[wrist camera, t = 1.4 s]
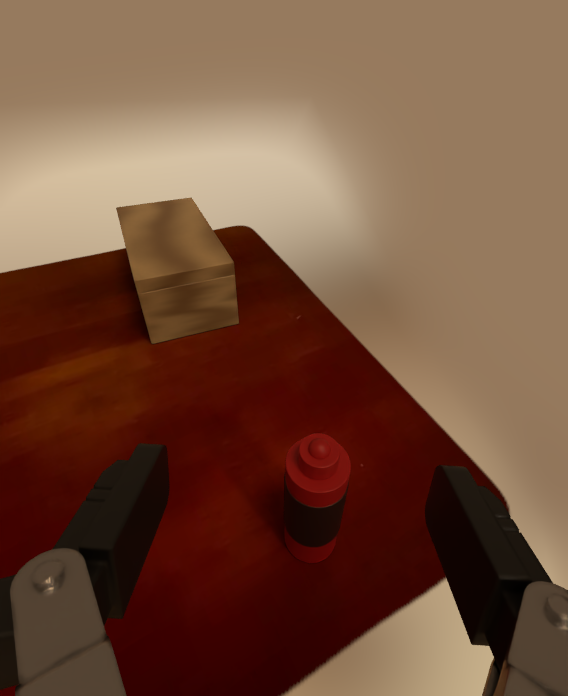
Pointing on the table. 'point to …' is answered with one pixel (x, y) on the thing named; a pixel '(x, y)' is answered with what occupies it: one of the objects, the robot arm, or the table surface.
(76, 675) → the robot arm
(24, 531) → the table surface
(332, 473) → the red water bottle
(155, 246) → the wooden block
